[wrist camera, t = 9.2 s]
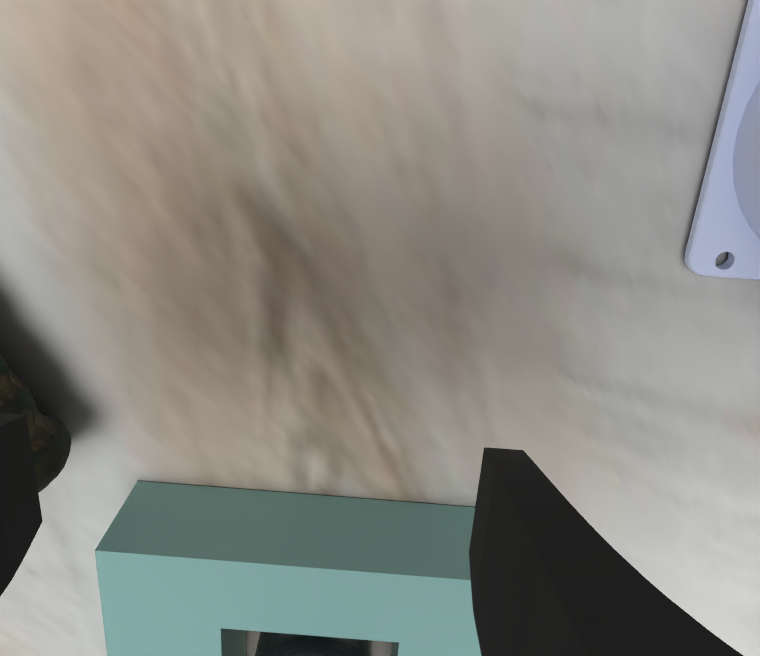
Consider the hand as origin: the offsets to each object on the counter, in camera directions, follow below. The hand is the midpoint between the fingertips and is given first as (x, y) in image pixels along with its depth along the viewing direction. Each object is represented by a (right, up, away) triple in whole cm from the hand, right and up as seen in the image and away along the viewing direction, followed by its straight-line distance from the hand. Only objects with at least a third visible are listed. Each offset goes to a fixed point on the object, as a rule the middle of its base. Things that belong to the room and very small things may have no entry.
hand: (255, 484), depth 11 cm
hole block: (0, -8, +15) cm, 17 cm away
